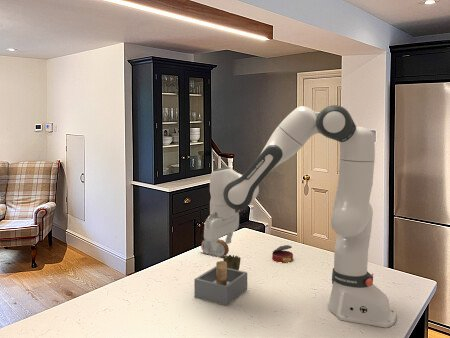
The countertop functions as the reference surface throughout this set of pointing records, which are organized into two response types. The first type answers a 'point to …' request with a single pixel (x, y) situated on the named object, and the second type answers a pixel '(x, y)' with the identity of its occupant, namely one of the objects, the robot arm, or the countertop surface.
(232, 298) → the socket box
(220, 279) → the oak peg
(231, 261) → the ornate bronze lampshade
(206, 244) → the tin
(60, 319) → the countertop surface
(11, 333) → the countertop surface
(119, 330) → the countertop surface
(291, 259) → the canned food
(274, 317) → the countertop surface
